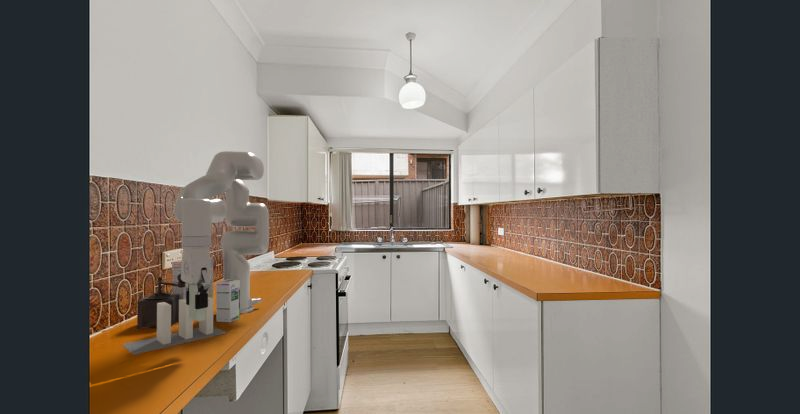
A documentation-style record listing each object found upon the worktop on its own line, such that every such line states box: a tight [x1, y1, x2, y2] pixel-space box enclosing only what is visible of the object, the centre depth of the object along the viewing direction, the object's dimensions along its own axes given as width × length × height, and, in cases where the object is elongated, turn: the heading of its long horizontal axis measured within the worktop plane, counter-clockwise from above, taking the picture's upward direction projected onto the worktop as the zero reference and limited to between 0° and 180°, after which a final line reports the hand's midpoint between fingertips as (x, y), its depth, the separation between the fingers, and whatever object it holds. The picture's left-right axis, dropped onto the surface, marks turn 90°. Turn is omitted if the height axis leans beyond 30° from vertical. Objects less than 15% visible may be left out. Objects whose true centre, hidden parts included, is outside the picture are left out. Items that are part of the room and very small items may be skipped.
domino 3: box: [189, 281, 205, 322], centre depth 108 cm, size 2×6×11 cm, turn 48°
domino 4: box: [198, 297, 214, 335], centre depth 123 cm, size 2×6×11 cm, turn 48°
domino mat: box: [122, 326, 227, 355], centre depth 117 cm, size 25×12×1 cm, turn 138°
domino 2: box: [178, 299, 194, 339], centre depth 118 cm, size 2×6×11 cm, turn 48°
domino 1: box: [156, 302, 172, 344], centre depth 114 cm, size 2×6×11 cm, turn 48°
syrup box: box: [215, 279, 241, 323], centre depth 137 cm, size 6×6×14 cm
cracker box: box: [171, 257, 214, 300], centre depth 146 cm, size 14×6×21 cm, turn 161°
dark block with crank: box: [136, 274, 186, 330], centre depth 133 cm, size 16×11×18 cm
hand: (196, 305), depth 108 cm, fingers closed on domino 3, 5 cm apart
